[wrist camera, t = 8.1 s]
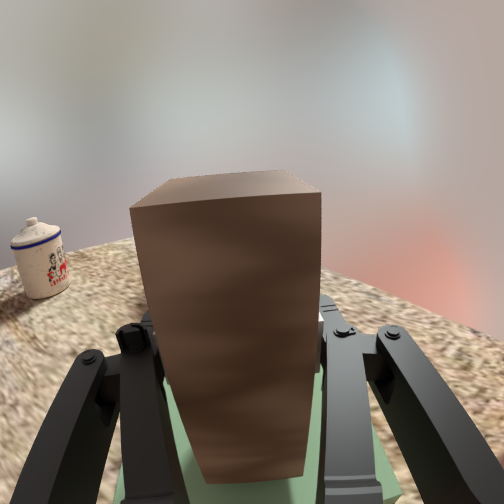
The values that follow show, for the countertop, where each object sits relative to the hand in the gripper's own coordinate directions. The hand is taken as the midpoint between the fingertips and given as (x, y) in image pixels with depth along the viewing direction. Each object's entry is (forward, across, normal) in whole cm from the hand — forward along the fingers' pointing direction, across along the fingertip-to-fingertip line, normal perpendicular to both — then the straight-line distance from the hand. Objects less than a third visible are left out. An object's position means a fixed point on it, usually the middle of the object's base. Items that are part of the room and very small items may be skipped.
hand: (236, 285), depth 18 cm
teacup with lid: (+25, -31, -11) cm, 42 cm away
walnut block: (-5, 0, -8) cm, 9 cm away
